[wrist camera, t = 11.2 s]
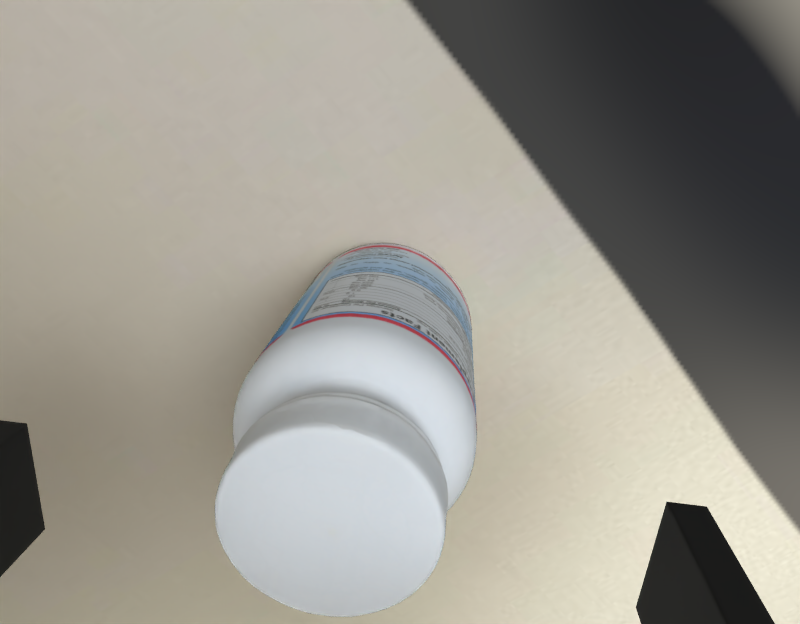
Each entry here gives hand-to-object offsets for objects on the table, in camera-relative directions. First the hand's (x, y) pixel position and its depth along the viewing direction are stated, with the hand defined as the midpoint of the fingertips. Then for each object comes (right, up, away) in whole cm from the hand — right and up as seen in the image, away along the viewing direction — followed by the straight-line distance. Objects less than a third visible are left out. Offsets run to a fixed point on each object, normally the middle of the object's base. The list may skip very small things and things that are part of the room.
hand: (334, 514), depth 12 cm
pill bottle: (+1, +4, +10) cm, 11 cm away
